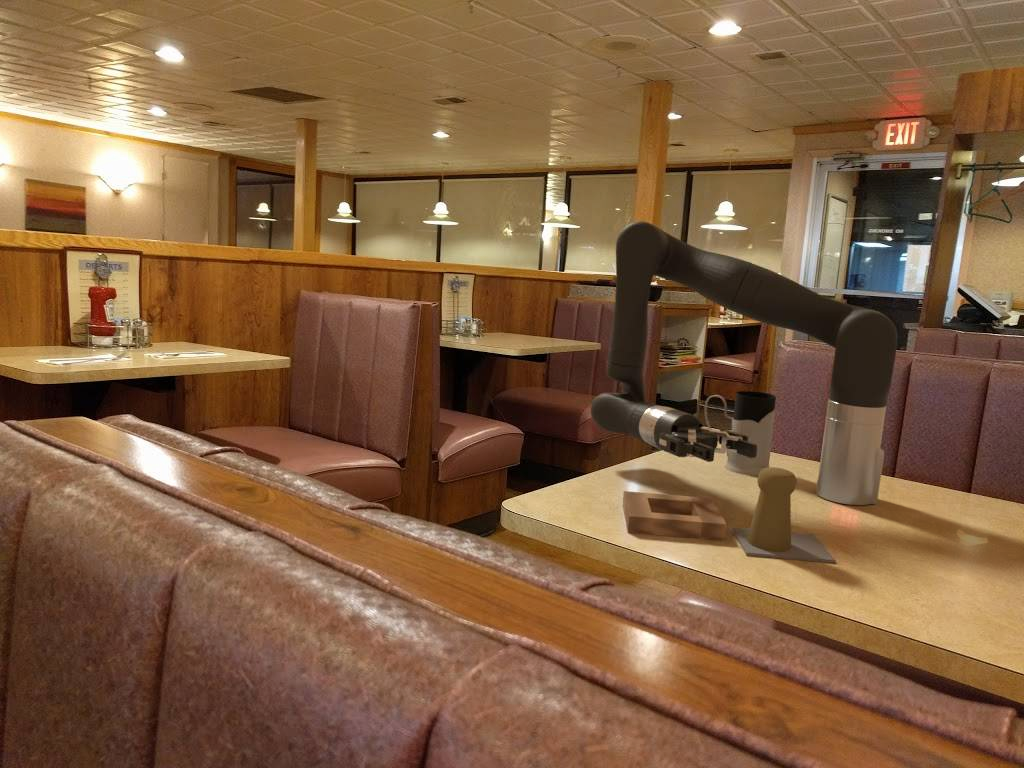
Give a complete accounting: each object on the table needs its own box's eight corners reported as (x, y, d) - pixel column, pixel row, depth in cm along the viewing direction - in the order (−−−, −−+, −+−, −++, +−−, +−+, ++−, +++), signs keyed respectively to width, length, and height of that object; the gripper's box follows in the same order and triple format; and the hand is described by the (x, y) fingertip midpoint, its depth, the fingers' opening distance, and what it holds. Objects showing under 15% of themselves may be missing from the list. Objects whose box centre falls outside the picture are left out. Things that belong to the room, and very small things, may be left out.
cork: (794, 554, 105) (804, 477, 103) (749, 548, 106) (758, 472, 104) (788, 538, 111) (797, 466, 109) (745, 533, 112) (753, 461, 110)
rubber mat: (812, 536, 113) (813, 534, 113) (835, 563, 103) (835, 560, 103) (731, 529, 114) (732, 527, 114) (746, 555, 104) (746, 552, 104)
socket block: (710, 513, 121) (711, 498, 121) (724, 540, 109) (726, 524, 109) (622, 505, 122) (623, 491, 122) (627, 532, 110) (629, 516, 110)
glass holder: (763, 478, 144) (773, 400, 141) (691, 463, 151) (699, 389, 149) (775, 468, 151) (784, 395, 148) (706, 455, 158) (713, 384, 156)
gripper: (637, 410, 128) (700, 432, 114) (704, 407, 134) (771, 427, 120) (634, 453, 129) (695, 480, 115) (700, 448, 135) (766, 473, 121)
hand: (734, 453), depth 117 cm, fingers open, 8 cm apart
